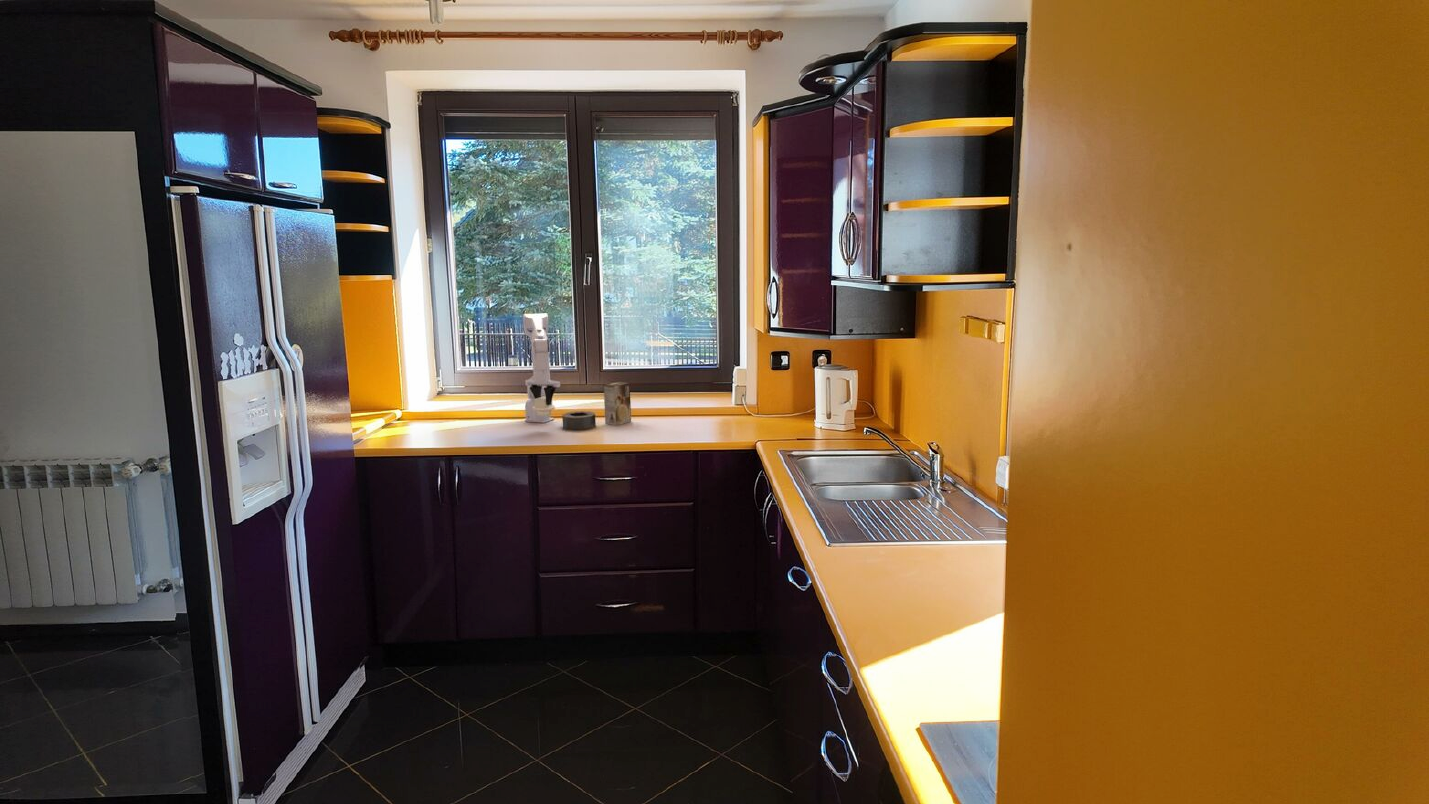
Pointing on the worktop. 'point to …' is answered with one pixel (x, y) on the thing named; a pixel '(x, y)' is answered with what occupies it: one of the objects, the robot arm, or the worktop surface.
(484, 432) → the worktop surface
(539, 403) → the cap
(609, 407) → the coffee box
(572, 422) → the dark grey thick ring
